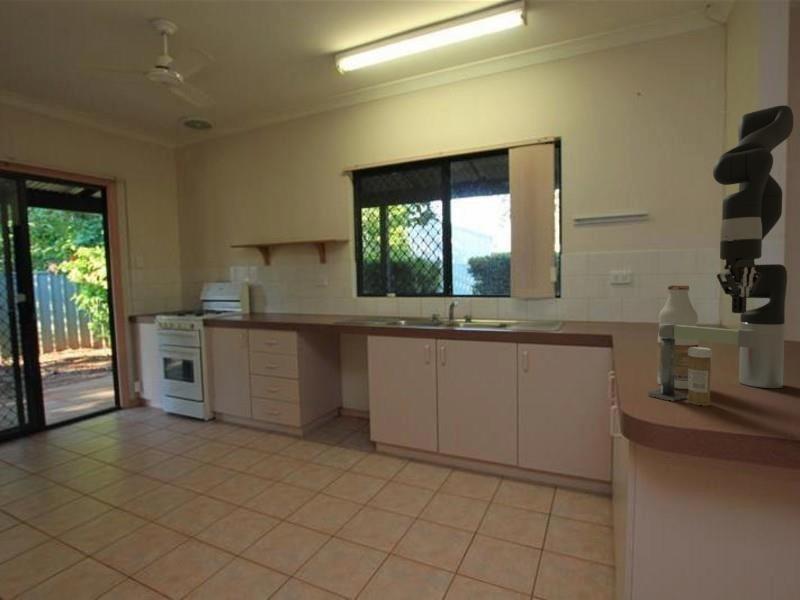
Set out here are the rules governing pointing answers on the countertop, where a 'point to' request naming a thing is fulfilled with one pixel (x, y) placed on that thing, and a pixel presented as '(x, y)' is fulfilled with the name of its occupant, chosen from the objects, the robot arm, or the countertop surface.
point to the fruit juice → (679, 314)
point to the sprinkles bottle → (699, 376)
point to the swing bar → (710, 334)
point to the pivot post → (667, 372)
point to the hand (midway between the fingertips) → (738, 312)
